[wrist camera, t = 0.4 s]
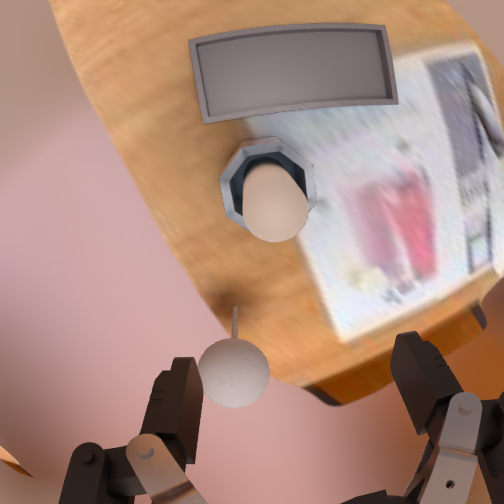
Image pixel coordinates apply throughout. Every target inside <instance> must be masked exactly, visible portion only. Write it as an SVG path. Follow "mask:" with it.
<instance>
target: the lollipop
mask: <svg viewBox="0 0 504 504" xmlns="http://www.w3.org/2000/svg"><path fill="white" fill-rule="evenodd" d="M198 371H199V374H200V377H201V380H202V384H203V392H204V394H205V395H206V396H207V397H208V398H209V399H210V400H211V401H213V402H214V403H216V404H218V405H221V406H224V407H229V408H239V407H244V406H247V405H249V404H251V403H253V402H254V401H256V400H257V399H258V398H259V397H260V396H261V395H262V394H263V393H264V391H265V389H266V387H267V385H268V381H269V375H270V369H269V364H268V361H267V359H266V357H265V355H264V354H263V353H262V351H261V350H260V349H259V348H258V347H256V346H255V345H254V344H252V343H250V342H248V341H246V340H243V339H238V306H234V307H233V317H232V338H229V339H224V340H220V341H218V342H216V343H214V344H212V345H211V346H209V347H208V348H207V349H206V350H205V352H204V353H203V355H202V356H201V358H200V361H199V364H198Z"/></svg>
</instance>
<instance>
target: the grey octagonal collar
mask: <svg viewBox="0 0 504 504" xmlns="http://www.w3.org/2000/svg"><path fill="white" fill-rule="evenodd" d="M260 156H269V157H273V158H275V159H277V160H278V161H279V162H280V163H281V164H282V165H283V166H284V168H285V169H286V170H287V172H288V173H289V174H290V176H291V177H292V178H293V180H294V181H295V182H296V184H297V185H298V187H299V188H300V189H301V191H302V192H303V193H304V195H305V197H306V199H307V202H308V213H309V212H310V210H311V209H312V208H313V207H314V206H315V204H316V203H317V195H316V186H315V176H314V168H313V164H311V163H310V162H309V161H307V160H306V159H305V158H303V157H302V156H301V155H300V154H298V153H297V152H296V151H294V150H293V149H292V148H290V147H289V146H288V145H286V144H285V143H284V142H282V141H281V140H279V139H278V138H276V137H275V136H272V137H265V138H258V139H252V140H246V141H242V142H241V144H240V145H239V147H238V148H237V149H236V151H235V152H234V153H233V155H232V156H231V158H230V159H229V160H228V162H227V163H226V165H225V166H224V168H223V171H222V173H221V175H220V178H219V183H220V188H221V193H222V198H223V203H224V208H225V213H226V216H227V217H228V218H230V219H231V220H233V221H234V222H236V223H237V224H239V225H240V226H242V227H243V228H245V229H246V230H248V231H249V229H248V228H247V226H246V225H245V222H244V219H243V175H244V170H245V168H246V166H247V165H248V163H249V162H250V161H252V160H253V159H255V158H257V157H260ZM249 232H250V231H249Z"/></svg>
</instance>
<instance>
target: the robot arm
mask: <svg viewBox="0 0 504 504" xmlns="http://www.w3.org/2000/svg"><path fill="white" fill-rule="evenodd" d="M390 368H391V373H392V376H393V378H394V380H395V383H396V385H397V387H398V389H399V392H400V394H401V396H402V398H403V401H404V403H405V405H406V407H407V410H408V413H409V415H410V417H411V420H412V422H413V425H414V427H415V429H416V432H417V434H418V435H421V434H424V433H428V435H429V439H428V440H427V443H426V446H425V449H424V451H423V454H422V457H421V460H420V462H419V465H418V467H417V469H416V472H415V474H414V476H413V479H412V480H411V482H410V484H409V486H408V487H407V489H406V491H405V493H404V495H403V496H394V495H387V493H386V490H382V491H378V492H374V493H370V494H366V495H362V496H357V497H355V498H353V499H350V500H348V501H346V502H343V503H341V504H465V503H466V500H467V497H468V494H469V491H470V487H471V484H472V480H473V476H474V473H475V469H476V465H477V461H478V463H479V465H480V469H481V471H482V474H483V477H484V479H485V483H486V486H487V489H488V492H489V495H490V499H491V502H492V504H504V392H503V393H502V394H501V395H500V397H499V398H498V399H494V400H479V399H478V397H476V396H475V395H474V394H471V393H468V392H464V391H463V389H462V388H461V386H460V384H459V382H458V381H457V379H456V377H455V376H454V374H453V373H452V371H451V369H450V368H449V366H448V365H447V363H446V361H445V360H444V358H442V355H441V353H440V352H439V350H438V349H437V347H435V346H434V345H433V344H431V343H430V342H429V341H422V339H421V338H420V336H419V334H418V333H417V332H416V331H411V332H406V333H401V334H398V335H397V336H396V340H395V344H394V349H393V353H392V357H391V361H390ZM202 403H203V384H202V380H201V377H200V374H199V371H198V368H197V365H196V362H195V359H194V357H176V358H174V360H173V362H172V366H171V370H169V371H162V372H161V373H160V374H159V376H158V377H157V378H156V379H155V382H154V385H153V388H152V393H151V395H150V401H149V403H148V406H147V409H146V413H145V417H144V421H143V424H142V428H141V431H140V434H139V435H138V436H136V437H134V438H133V439H132V440H131V441H130V442H129V443H128V445H126V446H123V447H118V448H112V449H105V450H103V449H102V448H101V447H100V446H99V445H98V444H96V443H92V442H87V443H83V444H81V445H79V446H78V447H77V448H76V449H75V450H74V452H73V453H72V457H71V460H70V463H69V467H68V470H67V474H66V477H65V481H64V484H63V488H62V492H61V496H60V500H59V504H134V500H135V495H142V494H148V495H149V497H150V498H151V501H152V503H151V504H208V503H207V502H206V501H205V499H204V498H203V497H202V496H201V494H200V493H199V492H198V491H197V489H196V488H195V487H194V486H193V484H192V483H191V481H190V480H189V479H188V477H187V476H186V475H185V468H186V464H195V458H196V449H197V441H198V433H199V426H200V418H201V410H202ZM474 452H475V454H474Z"/></svg>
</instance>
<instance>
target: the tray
mask: <svg viewBox="0 0 504 504" xmlns="http://www.w3.org/2000/svg"><path fill="white" fill-rule="evenodd" d="M188 42H189V47H190V53H191V59H192V65H193V70H194V76H195V82H196V87H197V93H198V98H199V104H200V109H201V115H202V120H203V124H209V123H214V122H219V121H224V120H230V119H235V118H241V117H248V116H254V115H261V114H268V113H275V112H283V111H292V110H301V109H311V108H323V107H337V106H355V105H397V104H399V103H398V95H397V88H396V81H395V74H394V68H393V62H392V56H391V51H390V45H389V40H388V36H387V31H386V26H385V25H374V24H355V23H309V24H290V25H277V26H267V27H258V28H250V29H243V30H236V31H230V32H224V33H218V34H213V35H208V36H203V37H199V38H194V39H190V40H188Z"/></svg>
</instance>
